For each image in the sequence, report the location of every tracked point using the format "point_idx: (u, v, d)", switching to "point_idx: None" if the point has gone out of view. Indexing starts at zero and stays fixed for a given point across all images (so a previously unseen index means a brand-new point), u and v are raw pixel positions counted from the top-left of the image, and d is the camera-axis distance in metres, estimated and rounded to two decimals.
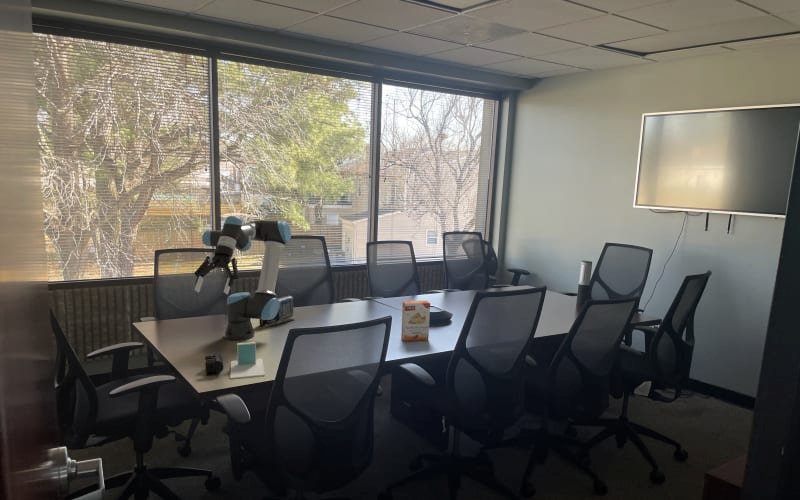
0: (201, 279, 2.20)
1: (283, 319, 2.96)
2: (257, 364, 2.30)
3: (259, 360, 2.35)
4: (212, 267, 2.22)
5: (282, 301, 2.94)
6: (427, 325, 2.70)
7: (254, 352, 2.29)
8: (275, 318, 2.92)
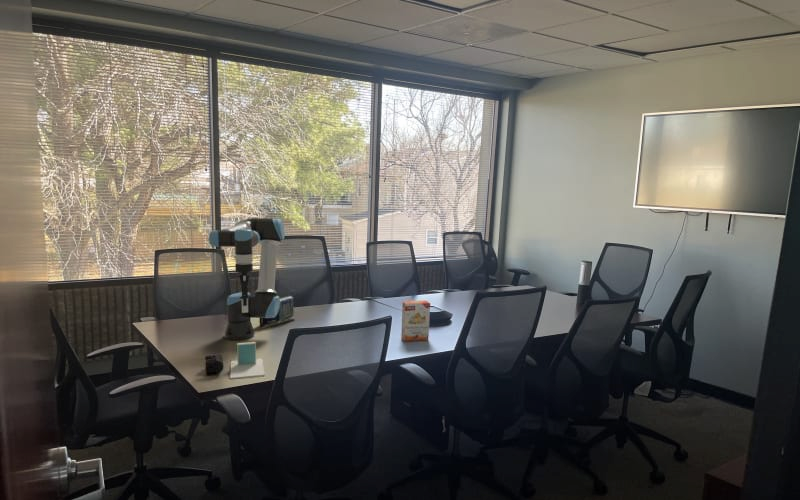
0: None
1: (283, 319, 2.96)
2: (257, 364, 2.30)
3: (259, 360, 2.35)
4: None
5: (282, 301, 2.93)
6: (427, 325, 2.70)
7: (254, 352, 2.29)
8: (275, 318, 2.91)
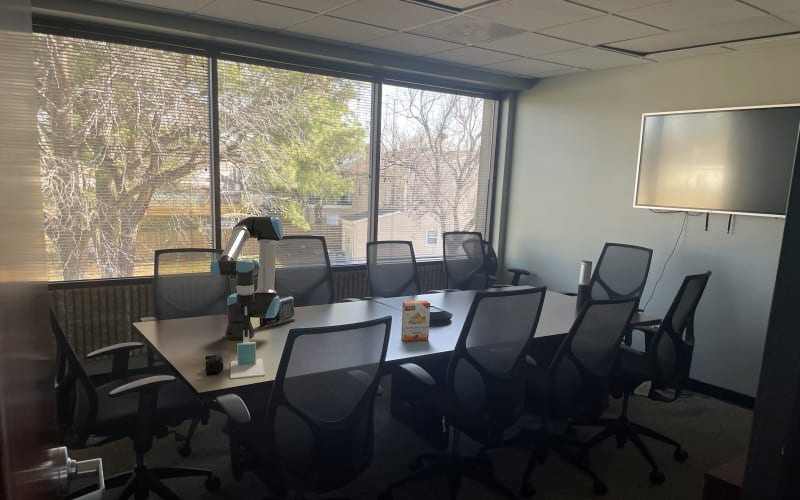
0: None
1: (283, 320, 2.95)
2: (257, 364, 2.30)
3: (259, 360, 2.35)
4: None
5: (282, 302, 2.93)
6: (427, 325, 2.70)
7: (254, 352, 2.29)
8: (275, 319, 2.91)
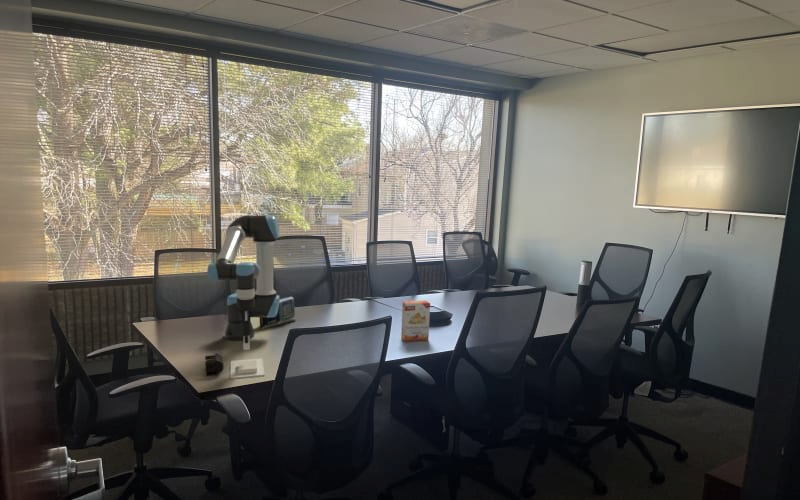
0: None
1: (284, 320, 2.94)
2: (257, 364, 2.30)
3: (259, 360, 2.35)
4: None
5: (283, 302, 2.92)
6: (427, 325, 2.70)
7: None
8: (275, 319, 2.90)
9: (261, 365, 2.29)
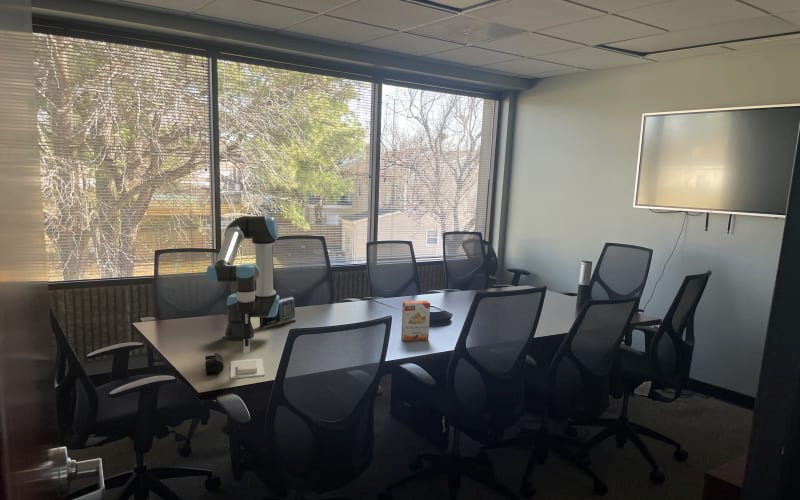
0: None
1: (284, 320, 2.94)
2: (257, 364, 2.30)
3: (259, 360, 2.35)
4: None
5: (283, 302, 2.92)
6: (427, 325, 2.70)
7: None
8: (275, 319, 2.90)
9: (261, 365, 2.29)
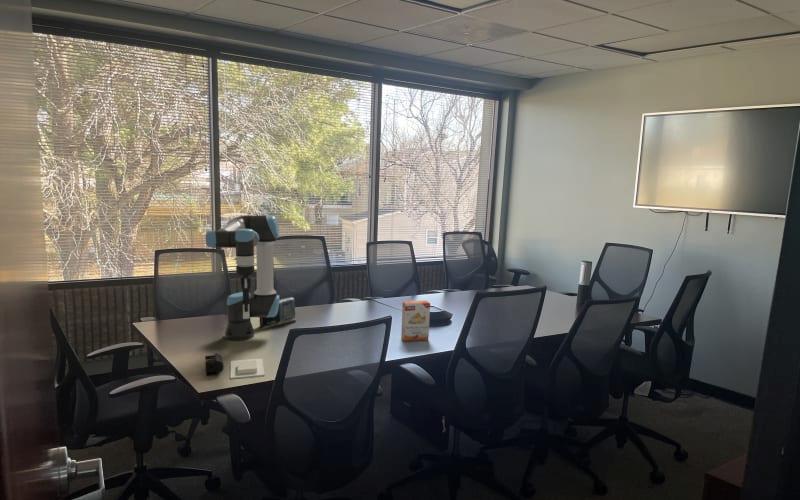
0: None
1: (284, 320, 2.93)
2: (257, 364, 2.30)
3: (259, 360, 2.35)
4: None
5: (283, 302, 2.91)
6: (427, 325, 2.70)
7: None
8: (275, 319, 2.89)
9: (261, 365, 2.29)
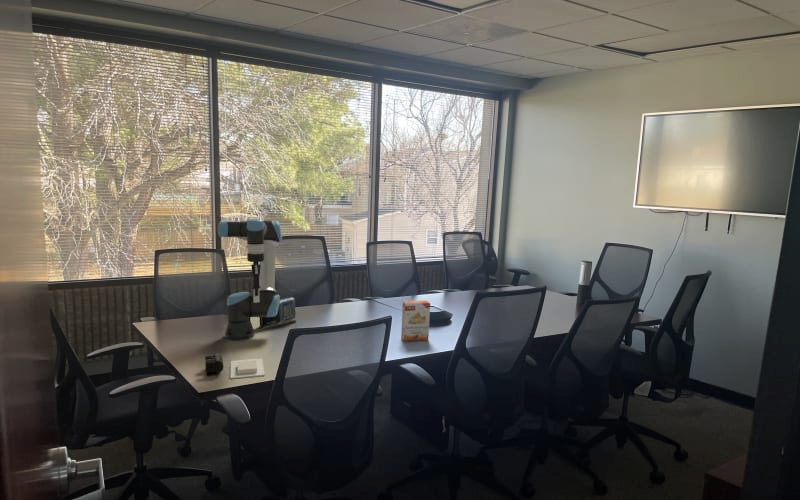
0: None
1: (284, 321, 2.93)
2: (257, 364, 2.30)
3: (259, 360, 2.35)
4: None
5: (283, 302, 2.91)
6: (427, 325, 2.70)
7: None
8: (275, 319, 2.89)
9: (261, 365, 2.29)
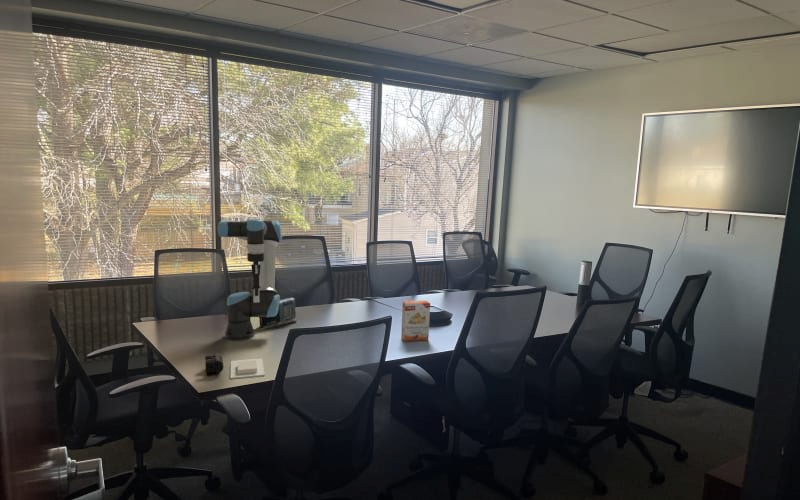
0: None
1: (284, 321, 2.92)
2: (257, 364, 2.30)
3: (259, 360, 2.35)
4: None
5: (283, 303, 2.90)
6: (427, 325, 2.70)
7: None
8: (275, 320, 2.88)
9: (261, 365, 2.29)
